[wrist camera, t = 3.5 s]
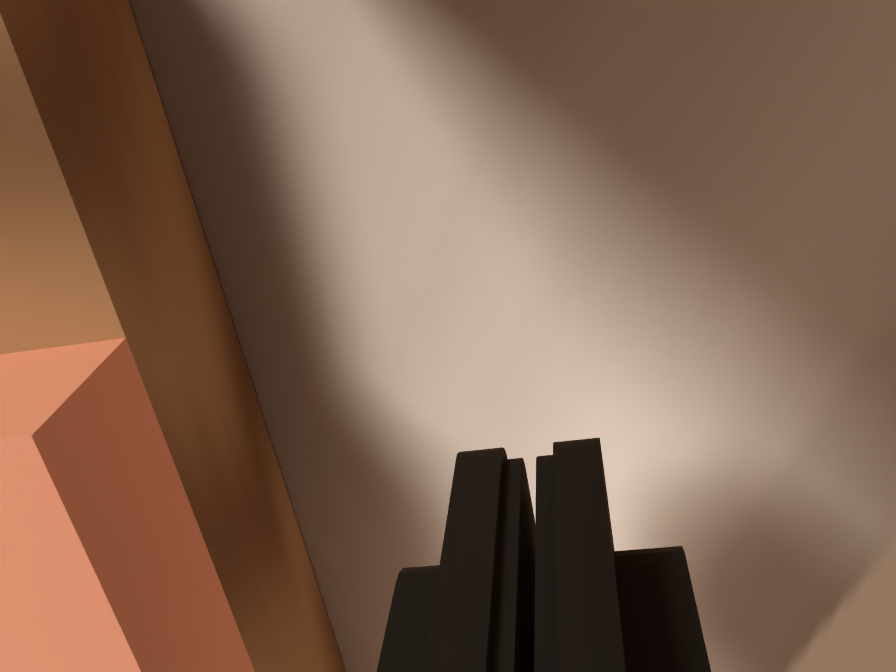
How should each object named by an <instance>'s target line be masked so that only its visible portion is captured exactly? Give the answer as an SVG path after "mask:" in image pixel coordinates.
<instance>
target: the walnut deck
mask: <svg viewBox="0 0 896 672" xmlns="http://www.w3.org/2000/svg"><path fill="white" fill-rule="evenodd" d="M121 338H126V340H127V342H128V345H129V347H130V350H131V352H132V355H133V358H134V360H135V363H136V365H137V368H138V371H139V373H140V376H141V378H142V381H143V384H144V386H145V389H146V391H147V394H148V396H149V399H150V402H151V404H152V407H153V409H154V412H155V415H156V417H157V420H158V422H159V425H160V428H161V430H162V433H163V435H164V438H165V440H166V443H167V446H168V448H169V451H170V453H171V456H172V459H173V461H174V464H175V466H176V469H177V472H178V474H179V477H180V479H181V482H182V484H183V487H184V490H185V492H186V495H187V497H188V500H189V503H190V505H191V508H192V510H193V513H194V516H195V518H196V521H197V523H198V526H199V528H200V531H201V534H202V536H203V539H204V541H205V544H206V547H207V549H208V552H209V554H210V557H211V559H212V562H213V565H214V567H215V570H216V572H217V575H218V578H219V580H220V583H221V585H222V588H223V591H224V593H225V596H226V598H227V601H228V604H229V606H230V609H231V611H232V614H233V616H234V619H235V622H236V624H237V627H238V629H239V632H240V635H241V637H242V640H243V642H244V645H245V647H246V650H247V653H248V655H249V658H250V660H251V663H252V666H253V668H254V671H255V672H346V671H345V668H344V665H343V662H342V659H341V655H340V652H339V649H338V646H337V643H336V640H335V637H334V634H333V631H332V628H331V625H330V621H329V618H328V615H327V612H326V609H325V606H324V603H323V600H322V597H321V594H320V591H319V588H318V584H317V581H316V578H315V575H314V572H313V569H312V566H311V563H310V560H309V557H308V554H307V550H306V547H305V544H304V541H303V538H302V535H301V532H300V529H299V526H298V523H297V520H296V516H295V513H294V510H293V507H292V504H291V501H290V498H289V495H288V492H287V489H286V486H285V482H284V479H283V476H282V473H281V470H280V467H279V464H278V461H277V458H276V455H275V452H274V448H273V445H272V442H271V439H270V436H269V433H268V430H267V427H266V424H265V421H264V418H263V414H262V411H261V408H260V405H259V402H258V399H257V396H256V393H255V390H254V387H253V384H252V381H251V377H250V374H249V371H248V368H247V365H246V362H245V359H244V356H243V353H242V350H241V347H240V343H239V340H238V337H237V334H236V331H235V328H234V325H233V322H232V319H231V316H230V313H229V309H228V306H227V303H226V300H225V297H224V294H223V291H222V288H221V285H220V282H219V279H218V275H217V272H216V269H215V266H214V263H213V260H212V257H211V254H210V251H209V248H208V245H207V241H206V238H205V235H204V232H203V229H202V226H201V223H200V220H199V217H198V214H197V211H196V207H195V204H194V201H193V198H192V195H191V192H190V189H189V186H188V183H187V180H186V177H185V174H184V170H183V167H182V164H181V161H180V158H179V155H178V152H177V149H176V146H175V143H174V140H173V136H172V133H171V130H170V127H169V124H168V121H167V118H166V115H165V112H164V109H163V106H162V102H161V99H160V96H159V93H158V90H157V87H156V84H155V81H154V78H153V75H152V72H151V68H150V65H149V62H148V59H147V56H146V53H145V50H144V47H143V44H142V41H141V38H140V34H139V31H138V28H137V25H136V22H135V19H134V16H133V13H132V10H131V7H130V4H129V1H128V0H0V354H8V353H15V352H23V351H30V350H38V349H46V348H53V347H61V346H68V345H76V344H83V343H91V342H99V341H106V340H114V339H121Z"/></svg>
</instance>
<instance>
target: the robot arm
mask: <svg viewBox="0 0 896 672" xmlns="http://www.w3.org/2000/svg"><path fill="white" fill-rule="evenodd" d="M377 672H711V669H710V664H709V660H708V655H707V651H706V647H705V642H704V638H703V633H702V629H701V624H700V620H699V615H698V611H697V606H696V602H695V597H694V593H693V588H692V584H691V579H690V575H689V570H688V566H687V561H686V557H685V553H684V550H683V547H682V546H677V547H665V548H652V549H640V550H627V551H614V544H613V537H612V529H611V521H610V514H609V506H608V498H607V491H606V483H605V475H604V468H603V460H602V452H601V445H600V438H592V439H583V440H573V441H563V442H554V443H553V455H547V456H537V458H536V525H535V519H534V513H533V508H532V502H531V496H530V491H529V485H528V479H527V474H526V468H525V463H524V460H523V458H517V459H507V455H506V452H505V449H504V448H494V449H484V450H474V451H465V452H459V453H458V454H457V458H456V463H455V470H454V476H453V483H452V489H451V496H450V502H449V509H448V515H447V522H446V528H445V534H444V541H443V547H442V554H441V560H440V565H438V566H425V567H412V568H403V569H402V570H401V571H400V572H399V575H398V578H397V581H396V585H395V590H394V594H393V599H392V604H391V608H390V613H389V618H388V622H387V627H386V632H385V636H384V641H383V646H382V650H381V655H380V659H379V664H378V669H377Z"/></svg>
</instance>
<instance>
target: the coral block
mask: <svg viewBox="0 0 896 672" xmlns="http://www.w3.org/2000/svg"><path fill="white" fill-rule="evenodd" d="M0 672H255V671H254V668H253V666H252V663H251V660H250V658H249V655H248V653H247V650H246V647H245V645H244V642H243V640H242V637H241V635H240V632H239V629H238V627H237V624H236V622H235V619H234V616H233V614H232V611H231V609H230V606H229V604H228V601H227V598H226V596H225V593H224V591H223V588H222V585H221V583H220V580H219V578H218V575H217V572H216V570H215V567H214V565H213V562H212V559H211V557H210V554H209V552H208V549H207V547H206V544H205V541H204V539H203V536H202V534H201V531H200V528H199V526H198V523H197V521H196V518H195V516H194V513H193V510H192V508H191V505H190V503H189V500H188V497H187V495H186V492H185V490H184V487H183V484H182V482H181V479H180V477H179V474H178V472H177V469H176V466H175V464H174V461H173V459H172V456H171V453H170V451H169V448H168V446H167V443H166V440H165V438H164V435H163V433H162V430H161V428H160V425H159V422H158V420H157V417H156V415H155V412H154V409H153V407H152V404H151V402H150V399H149V396H148V394H147V391H146V389H145V386H144V384H143V381H142V378H141V376H140V373H139V371H138V368H137V365H136V363H135V360H134V358H133V355H132V352H131V350H130V347H129V345H128V342H127V340H126V338H121V339H114V340H106V341H99V342H91V343H83V344H76V345H68V346H61V347H53V348H46V349H38V350H30V351H23V352H15V353H8V354H0Z"/></svg>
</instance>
